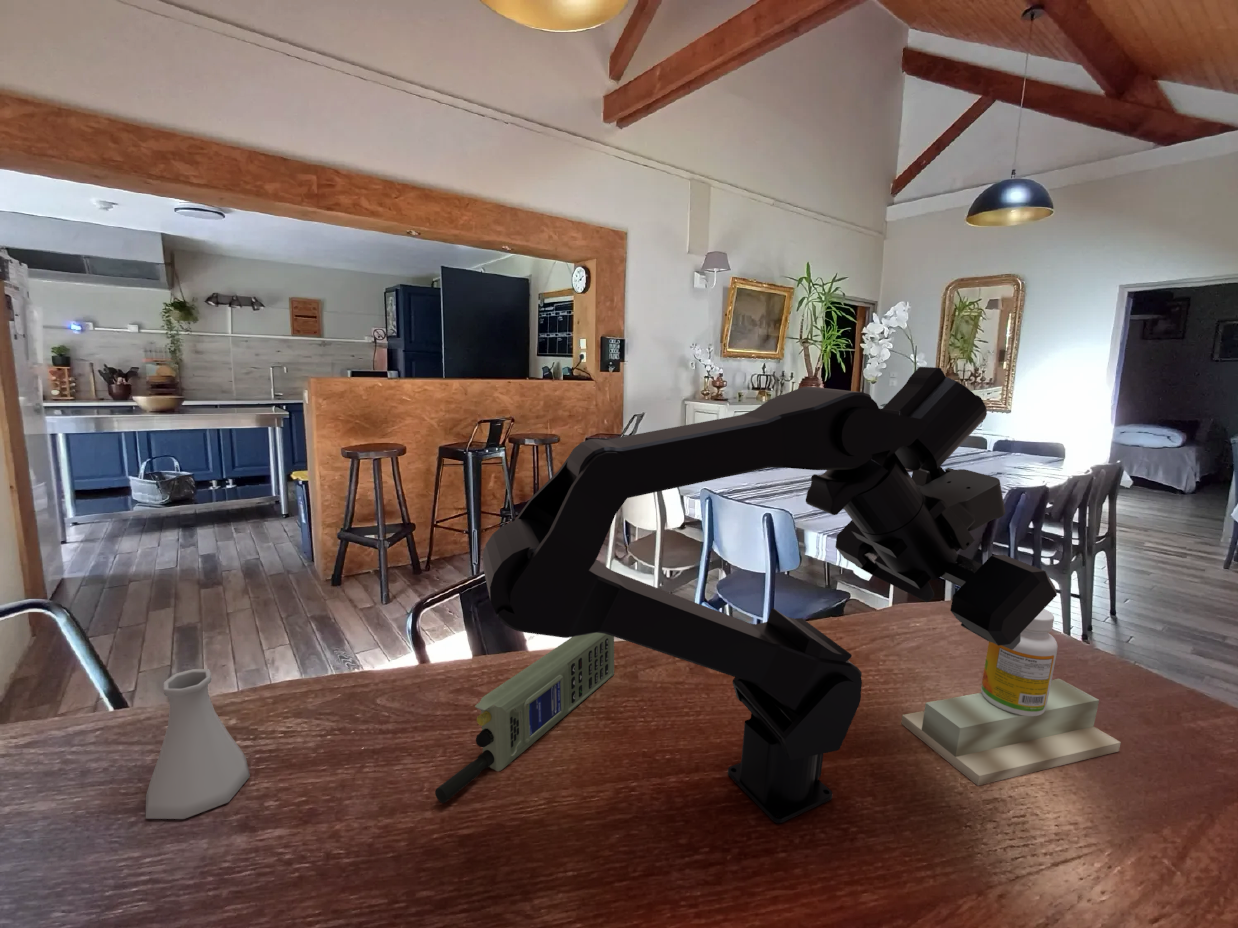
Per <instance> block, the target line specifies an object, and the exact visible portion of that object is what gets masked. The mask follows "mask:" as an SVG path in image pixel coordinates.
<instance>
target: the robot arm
mask: <svg viewBox="0 0 1238 928" xmlns="http://www.w3.org/2000/svg"><path fill="white" fill-rule="evenodd" d="M877 403H878V402H876V401H875V400H874V399H873V398H872V396H871V395H870V394H869V393H866V392H863V391H854V390H847V389H846V390H845V389H836V388H829V387H828V388H827V387H826V388H825V387H816V386H803V387H799V388H797V389H794V390H792V391H789V392H786V393H783V394H781V395H778V396H776V397H773V398H770V399H768V400H767V401H765V402H764V403H762V404H761V405H760V406H757V408H755V409H753V410H750V411H748V412H746V413H742V414H740V415H735V416H734V415H733V416H728V417H724V418H723V417H722V418H718V419H711V420H707V421H702V422H696V423H690V424H685V425H684V424H683V425H679V426H675V427H668V428H663V429H658V430H652V431H646V432H640V433H636V434H630V435H629V434H628V435H625V436H619V437H614V438H609V439H608V438H607V439H601V438H589V439H587V440H584V441H581V442H580V443H579V444H577V445H576V446H575V447H574V448H573V449H572V450H571V453H570V454H569V455H568V457H567V458H566V459H565V461H564V462H563V464H562V465H561V466H560V468H559V469H558V470H557V471H556V472H555V474H553V475H552V477H550V479H549V480H547V482H545V483H544V484H543V485H542V486H541V488H539V489H538V490H537V491H536V492H535V493H534V494H533V495H532V497H530V498H529V500H528V502H527V503H526V504H525V506H524V507H523V508H522V509H521V511H520V512H519V514H518V515H517V517H516V518H515V520H514V521H511V522H509V523H507V524H504V525H502V526H501V527H499V528H498V529H497V530H496V531H494V532H493V533H492V534H491V536H490V537H489V539H488V540H487V541H486V543H485V545H484V550H483V552H482V568H483V574H484V578H485V583H486V587H487V591H488V596H489V600H490V603H491V605H492V608H493V611H494V612H495V614H496V616H497V618H498V619H499V621H501V622H502V623H503V624H504V625H505V626H506V627H507V628H510V629H512V630H513V631H516V632H521V633H527V634H534V635H541V636H549V637H554V638H555V637H557V638H562V639H563V638H564V639H568V638H569V639H570V638H571V637H575V636H581V635H586V634H592V633H604V634H608V635H611V636H614V638H617V639H619V640H623V641H625V642H629V643H632V644H636V645H638V646H640V647H644V648H647V649H650V650H653V651H656V652H659V653H662V654H665V655H667V656H671V657H673V658H677V659H679V660H682V661H685V662H688V663H692V664H694V665H697V666H700V667H703V668H707V669H709V670H712V671H715V672H718V673H721V674H724V675H728V676H730V677H733V679H732V685H733V689H734V693H735V695H736V696H735V697H736V698H737V700H738V701H739V702H740V703H742V704H743V705H744V706H745V708H746V709H747V710H748V711H749V712H750V713H751V714H750V718H748V719H746V720H744V724H743V725H744V727H743V738H742V748H741V761H740V762H738V763H736V764H732V765H731V766H729V767H728V768H727V776H729V777H730V779H732V781H733V782H734V783H735V784H736V785H737V786H739V788H740V789H741V790H742V791H743V792H744V793H745V794H746V795H747V796H748V797H749V798H750V799H751V800H752V801H753V802H754V803H755V804H756V805H757V806H758V807H759V808H760V810H762V811H763V813H765V814H766V815H767V817H769V818H770V820H772V821H773V822H774V823H776V824H783V823H785V822H787V821H789V820H791V819H793V818H796V817H797V816H799V815H801V814H803V813H805V812H808V811H809V810H812V809H814V808H816V807H819V806H821V805H822V804H825V803H827V802H829V801H831V800H832V799H833V791H832V790H831V789H830V788H829V787H827V785H825V784H824V783H823V782H822V781H821V780H820V779H819V778H820V777H821V776H822V769H823V761H824V760H823V759H824V754H828V753H832V752H836V751H839V750H840V749H841V747H842V745H843V742H844V740H845V738H846V735H847V733H848V731H849V729H850V726H851V724H852V722H853V719H854V717H855V716H856V713H857V710H858V709H859V706H860V703H861V698H862V694H861V693H862V688H863V687H862V685H863V681H862V680H863V679H862V677H863V676H862V675H863V674H862V671H861V670H860V669H859V667H858V666H856V665H855V664H853V662H851V661H850V659H852V656H853V655H852V653H850V652H849V651H847V650H846V649H844V648H843V646H841V645H839V644H838V643H837V642H835V641H834V640H833V639H831V638H830V637H829V636H827V635H826V634H824V633H823V632H822V631H821V630H819V629H817V627H814V625H812V624H811V623H810V622H808V621H807V620H805V619H804V618H803V617H800V618H793V617H789V616H787V615H785V614H783V613H781V612H780V611H779V610H777V609H775V607H772V608H771V609H770V612H769V615H768V617H767V621H766V622H765V621H764V622H759V623H757V624H756V623H750V622H747V621H744V620H742V619H739V618H738V617H734V616H731V615H728V614H727V613H723V612H721V611H719V610H716V609H714V608H710V607H708V606H706V605H704V604H700V603H698V602H695V601H692V600H689V599H687V598H684V597H682V596H679V595H677V594H674V593H672V592H669V591H666V590H663V589H661V588H659V587H656V586H654V585H650V584H648V583H645V582H643V581H640V580H637V579H635V578H632V577H629V576H627V575H624V574H622V573H620V572H617V571H614V570H612V569H610V568H609V567H607V566H606V565H605V564H603V563H602V562H600V561H599V560H598V557H599V554H600V551H601V550H602V547H603V545H604V543H605V540H606V537H607V536H608V533H609V530H610V529H611V525H612V523H613V521H614V519H615V516H616V515H617V513H618V512H619V510H620V509H621V507H622V506H623V505H624V504H625V502H626V501H627V499H631V498H635V497H640V496H644V495H648V494H653V493H657V492H663V491H666V490H667V491H668V490H672V489H677V488H681V487H686V486H691V485H695V484H700V483H705V482H710V481H714V480H718V479H722V478H728V477H733V476H737V475H738V476H739V475H741V474H747V473H752V472H756V471H761V470H765V469H777V468H779V469H780V468H782V469H784V468H785V469H796V470H811V471H825V472H824V473H822V474H812V475H811V477H810V481H811V483H810V485H809V487H808V489H807V493H806V497H805V503H806V504H807V505H808V506H811V507H812V508H816V509H818V510H820V511H822V512H824V513H827V514H830V515H833V516H836V515H838V514H839V513H840V512H841V511H842V510H844V511H845V512H846V514H847V516H848V517H850V519H851V520H850V521H849V522H848V523H847V524H846V525H845V527H843V528H842V529H841V530H840V531H839V532H838V533H837V534H836V541H835V549H836V550H837V551H838V552H839V554H840V555H841V556H842V558H843V559H844V560H846V561H849V562H850V563H851V564H854V565H855V566H856V567H857V568H859V569H861V570H862V571H864V572H866V573H868V575H869V574H870V575H871V576H873V577H875V578H876V579H879V580H881V581H883V582H885V583H888V584H889V585H891V586H893V587H895V588H897V589H898V590H899V589H900V590H902V591H904V592H905V593H907V594H909V595H911V596H913V597H916V598H917V599H919V600H921V601H924V602H926V603H929V602H930V601H931V600H932V599H933V598H934V596H935V592H934V590H933V588H932V586H931V584H930V581H935V580H937V579H939V578H941V579H943V580H945V581H947V582H949V583H951V584H953V585H956V586H957V587H959V588H958V590H957V591H955V592H954V594H953V595H952V599H951V605H950V610H949V611H950V612H951V613H952V615H953V616H954V618H955V619H957V621H959V622H960V623H961V624H960V626H961V627H962V628H964V629H966V630H968V631H969V632H972V633H973V634H975V635H976V636H979V637H980V638H982V639H984V640H986V641H987V642H988V643H989V642H992V643H994V644H996V645H998V646H999V645H1002V646H1004V647H1006V648H1008V649H1011V650H1013V649H1014V648H1015V647H1016V646H1017V645H1018V644H1019V643H1020V640H1021V632H1022V631H1023V630H1024V629H1025V628H1026V627H1027V626H1028V625H1029V624H1030V623H1031V622H1032V621H1033V620H1034V619H1035V618H1036V617H1037V616H1038V614H1039V613H1040V612H1041V611H1042V610H1043V609H1045V608H1046V607H1047V606H1048V605H1049V604H1050V603H1051V602H1052V601H1053V600H1054V598H1056V597H1057V596H1058V594H1057V593H1058V592H1057V590H1056V586H1055V584H1054V583H1053V580H1052V579H1051V578H1050V576H1049V575H1048V573H1047V572H1046V570H1044V569H1041V568H1038V567H1036V566H1033V565H1031V564H1029V563H1026V562H1024V561H1021V560H1018V559H1016V558H1013V557H1010V556H1008V555H1007V554H995V555H993V554H992V555H991V556H989V558H987V560H986V561H985V562H984V563H983V564H982V563H980V562H977V561H975V560H973V559H971V558H969V557H966V556H964V555H962V554H959V553H958V552H959V550H962V551H966V550H967V549H968V548H969V547H971V545H972V544H973V543H974V542H975V539H974V537H973V535H972V534H971V531H972V532H973V531H974V530H976V529H978V528H980V527H982V526H984V525H985V524H988V523H989V522H991V521H992V520H994V519H998V520H999V519H1001V518H1002V517H1004V515H1005V514H1006V508H1005V502H1004V497H1003V490H1002V487H1001V481H1000V479H999V478H998V477H996V476H991V475H988V474H984V473H980V472H976V471H973V470H968V469H961V468H959V469H955V468H950V467H947V468H945V469H944V468H942V465H943V464H944V463H945V462H946V461H947V460H948V459H949V457H950V456H952V454H954V453H955V452H956V450H957V449H958V448H959V447H960V446H961V445H962V444H963V442H965V440H966V439H967V438H968V437H969V436H970V435H971V434H972V433H973V432H974V431H976V429H977V428H978V427H979V426H980V425H981V423H982V422H983V421H985V419H986V417H987V415H988V413H987V412H988V411H987V407H986V404H985V402H984V401H983V399H982V398H981V396H979V395H978V394H975V393H974V392H973V391H972V390H970V389H969V388H968V386H965V385H964V384H962V383H960V382H959V381H957V380H955V379H953V378H949V377H948V376H946V374H945V372H944V371H943V370H942V367H933V366H918V368H917V369H916V370H915V371H914V372H913V373H912V374H911V375H910V376H909V378H908V380H907V381H906V383H905V384H904V385H903V386H902V388H900V390H899V391H898V392H897V393H896V394H894V396H893V397H892V398H891V399H890V400H889V401H888V402H887V403H886V404H884V406H883V407H882V408H880V407H879V405H878V404H877ZM908 470H909V471H912V472H911V473H912V474H911V475H910V473H909V472H908Z"/></svg>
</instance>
